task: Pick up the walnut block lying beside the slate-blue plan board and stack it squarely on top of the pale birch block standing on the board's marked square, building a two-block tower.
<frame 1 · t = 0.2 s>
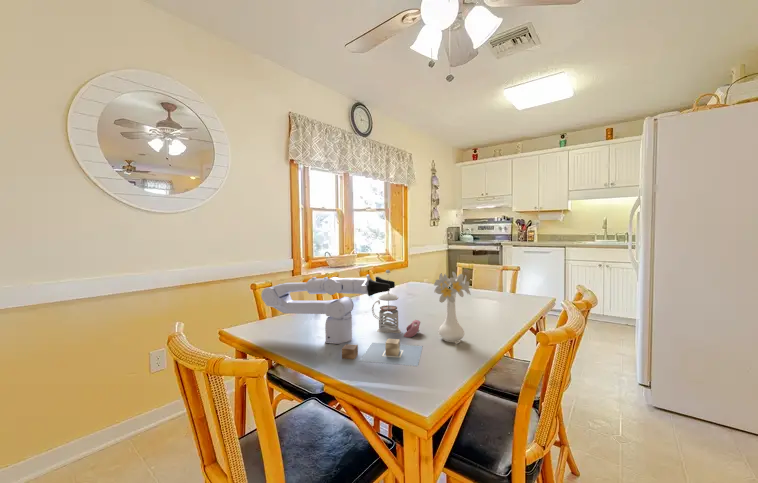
hand: (392, 286, 110), 21 cm above the table, tool horizontal, fingers open, 7 cm apart
video game controller: (412, 335, 121), on the table
walnut block: (350, 359, 100), on the table
flower vase: (452, 342, 113), on the table
plan board: (392, 355, 102), on the table
french press: (386, 331, 127), on the table
birch block: (392, 353, 102), point 1 cm above the table, touching plan board
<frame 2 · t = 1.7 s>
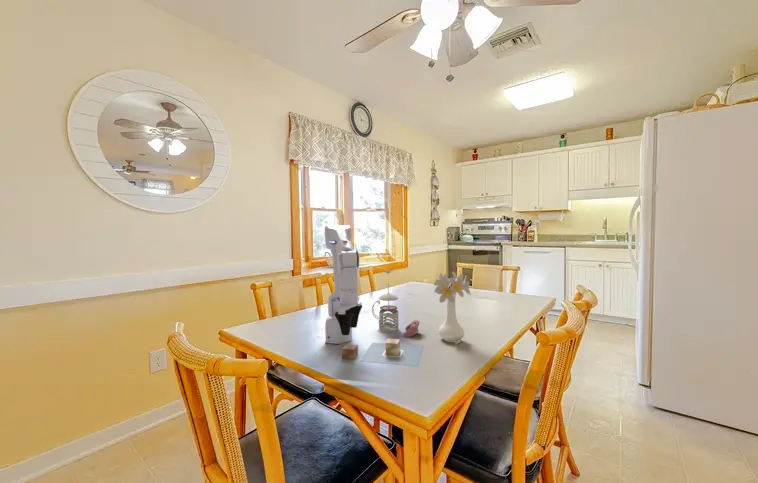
hand: (349, 330, 99), 9 cm above the table, tool pointing down, fingers open, 7 cm apart
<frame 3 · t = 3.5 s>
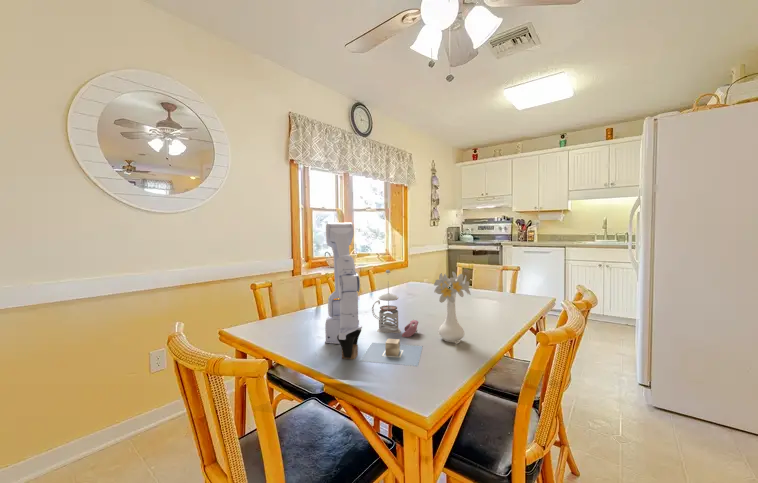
hand: (350, 354, 100), 1 cm above the table, tool pointing down, fingers closed on walnut block, 4 cm apart
walnut block: (350, 358, 100), on the table, touching gripper
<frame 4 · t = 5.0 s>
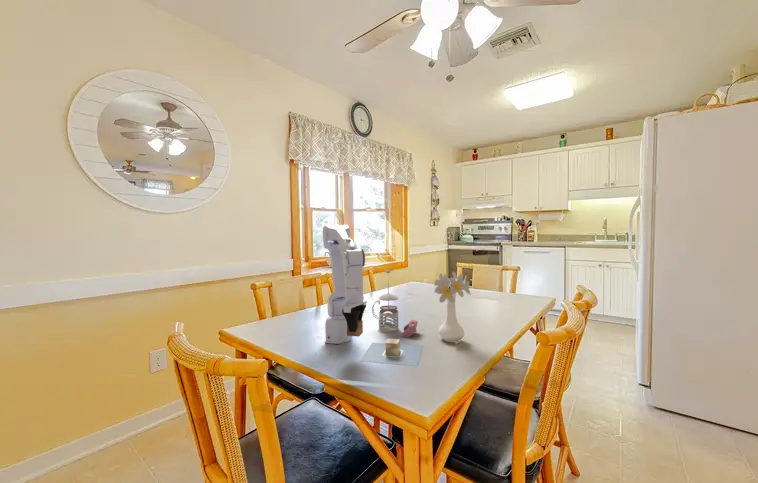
hand: (354, 329, 100), 9 cm above the table, tool pointing down, fingers closed on walnut block, 4 cm apart
walnut block: (354, 334, 100), point 8 cm above the table, touching gripper
when the fingers open (7 cm above the table, at t = 6.9 s): walnut block stays where it is, resting on birch block.
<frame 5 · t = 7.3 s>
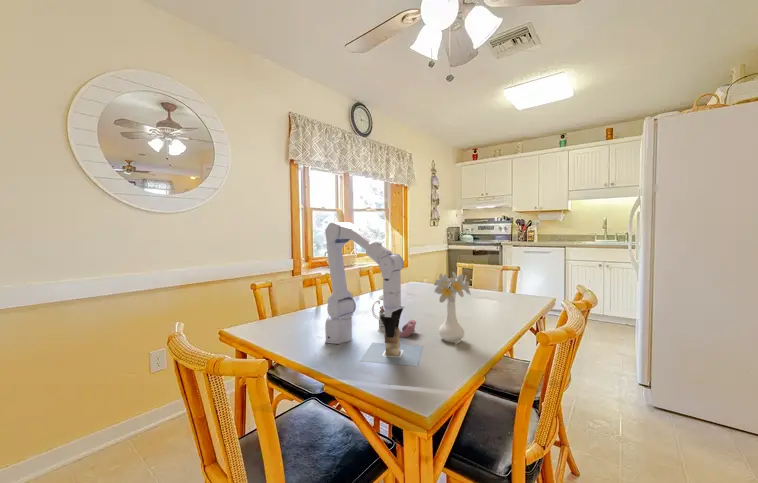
hand: (392, 333, 101), 7 cm above the table, tool pointing down, fingers open, 7 cm apart
walnut block: (392, 341, 101), point 5 cm above the table, touching birch block
birch block: (392, 353, 102), point 1 cm above the table, touching plan board, walnut block
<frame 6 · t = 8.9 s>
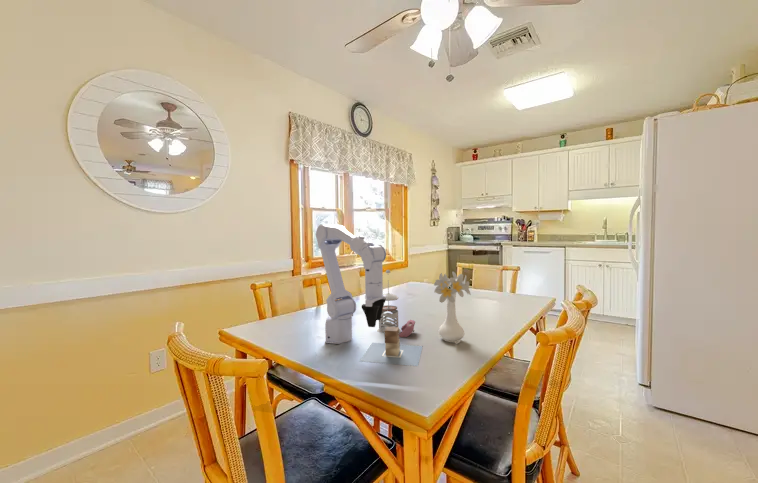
hand: (374, 323, 103), 10 cm above the table, tool pointing down, fingers open, 7 cm apart
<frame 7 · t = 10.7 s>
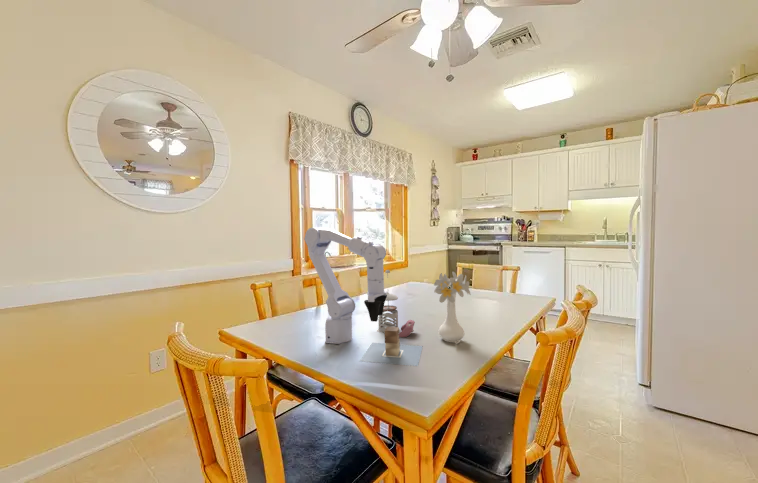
hand: (376, 318, 108), 10 cm above the table, tool pointing down, fingers open, 7 cm apart
at the end: walnut block 0.2 cm off-centre on the birch block, point 4.0 cm above the birch block's base; walnut block tilted 0°; birch block moved 0.0 cm from its start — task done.
